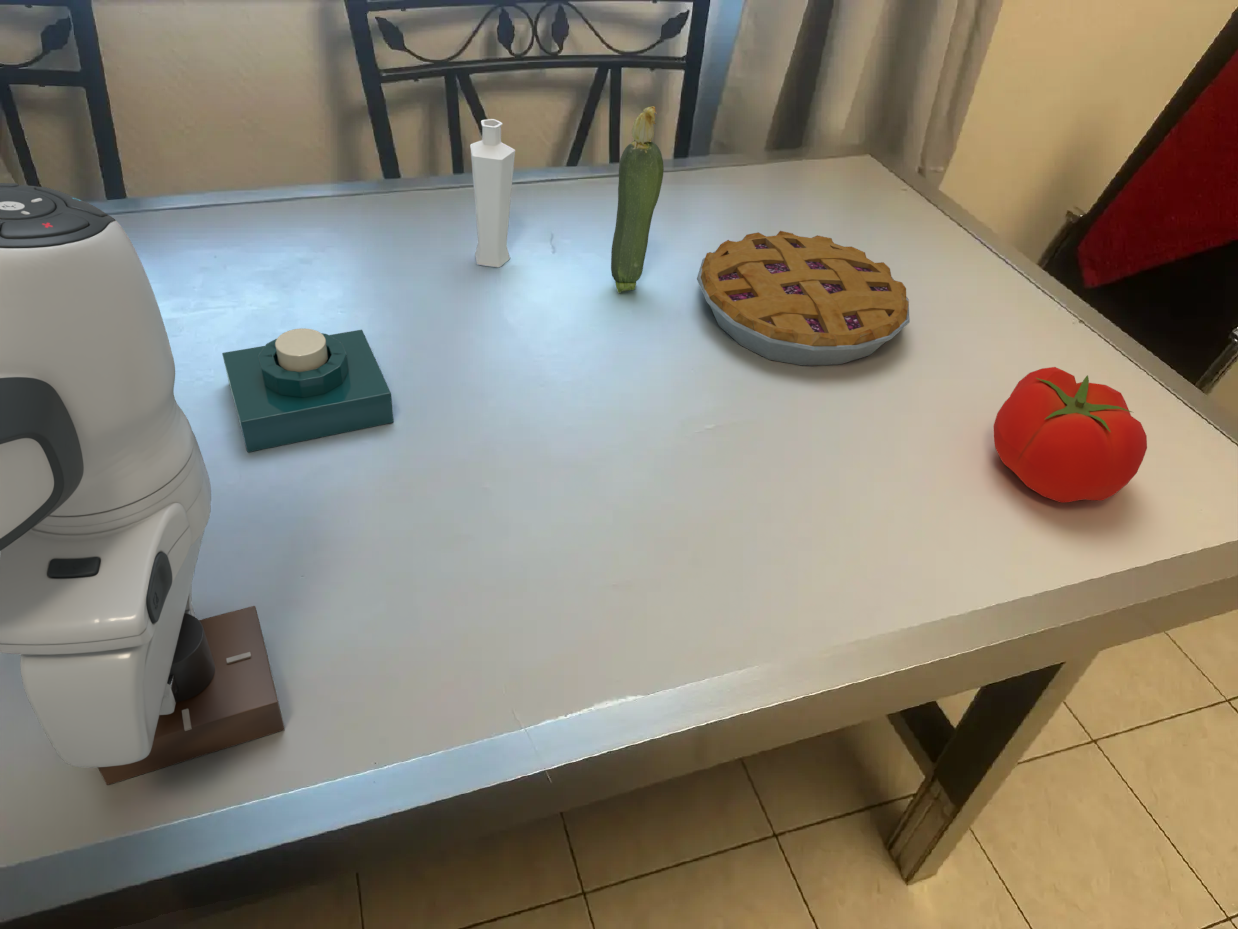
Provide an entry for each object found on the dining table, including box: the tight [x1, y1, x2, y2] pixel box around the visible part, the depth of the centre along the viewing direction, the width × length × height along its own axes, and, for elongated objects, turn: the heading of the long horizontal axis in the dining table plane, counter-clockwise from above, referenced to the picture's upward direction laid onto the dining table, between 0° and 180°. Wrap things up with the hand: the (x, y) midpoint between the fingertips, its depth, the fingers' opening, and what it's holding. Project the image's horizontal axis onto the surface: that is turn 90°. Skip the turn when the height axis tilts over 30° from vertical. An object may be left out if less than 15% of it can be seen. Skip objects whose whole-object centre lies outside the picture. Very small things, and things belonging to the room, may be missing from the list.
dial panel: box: [97, 605, 286, 786], centre depth 59 cm, size 10×8×3 cm
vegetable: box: [610, 105, 665, 295], centre depth 95 cm, size 4×4×20 cm
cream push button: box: [275, 327, 328, 372], centre depth 79 cm, size 4×4×2 cm
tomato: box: [993, 366, 1148, 504], centre depth 82 cm, size 13×12×8 cm
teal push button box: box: [221, 329, 395, 453], centre depth 81 cm, size 12×10×5 cm
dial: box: [169, 613, 215, 702], centre depth 56 cm, size 4×4×4 cm
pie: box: [696, 230, 911, 366], centre depth 99 cm, size 22×22×5 cm
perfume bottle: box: [469, 118, 516, 268], centre depth 99 cm, size 5×4×15 cm
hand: (171, 666), depth 57 cm, fingers closed on dial, 4 cm apart
